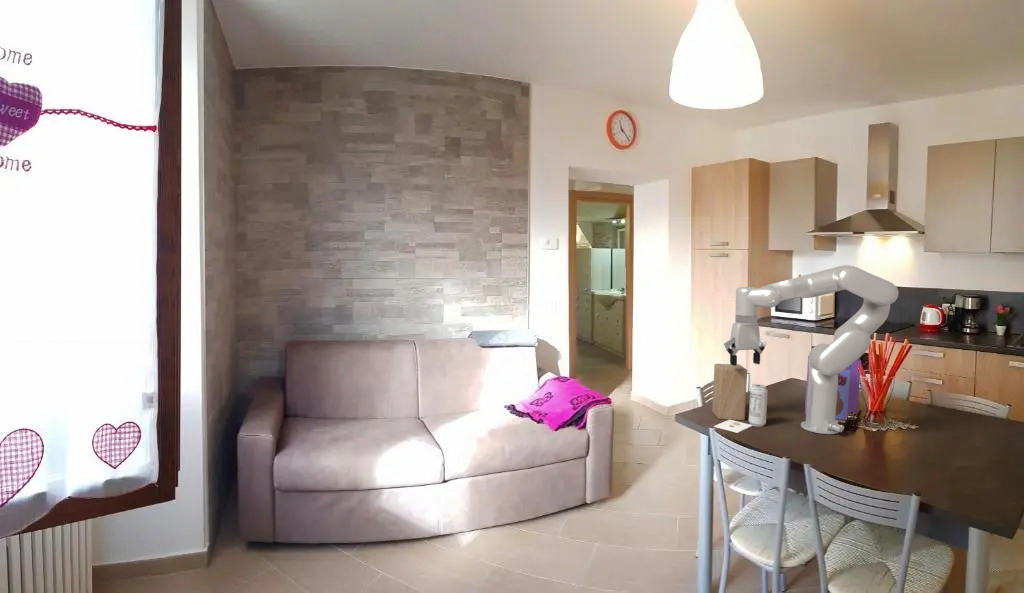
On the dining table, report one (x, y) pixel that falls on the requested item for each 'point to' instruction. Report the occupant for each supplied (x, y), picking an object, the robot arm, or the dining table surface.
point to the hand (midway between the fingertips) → (745, 364)
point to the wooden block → (729, 391)
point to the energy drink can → (758, 405)
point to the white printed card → (733, 426)
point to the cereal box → (845, 390)
